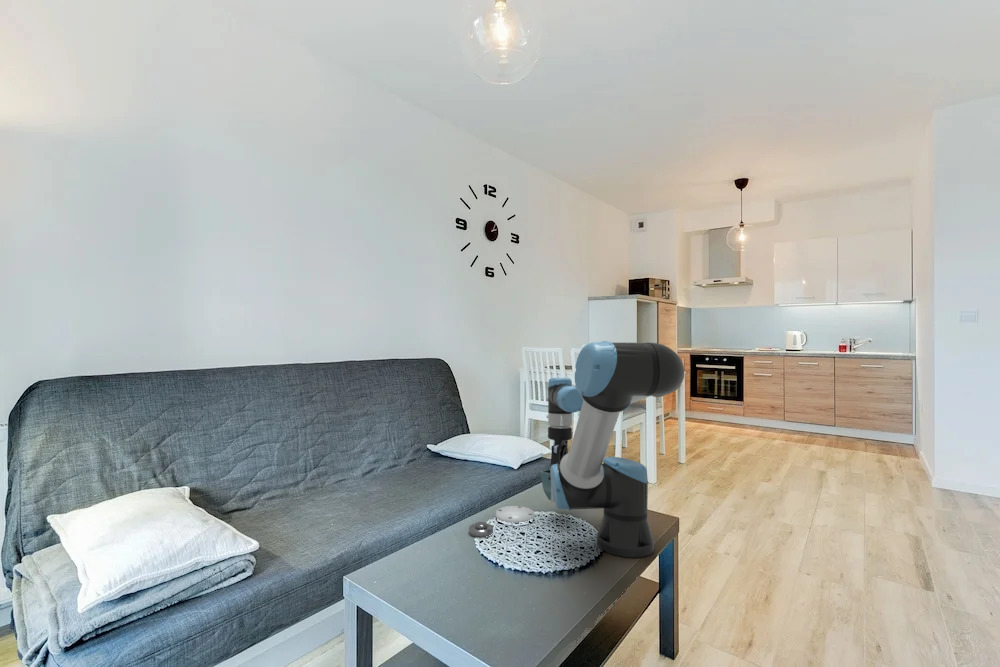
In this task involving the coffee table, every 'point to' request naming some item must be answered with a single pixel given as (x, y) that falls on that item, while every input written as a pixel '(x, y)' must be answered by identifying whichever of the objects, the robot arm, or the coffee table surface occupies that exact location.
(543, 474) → the flower pot
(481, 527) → the small metal flange
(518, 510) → the grey flange
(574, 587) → the coffee table surface
